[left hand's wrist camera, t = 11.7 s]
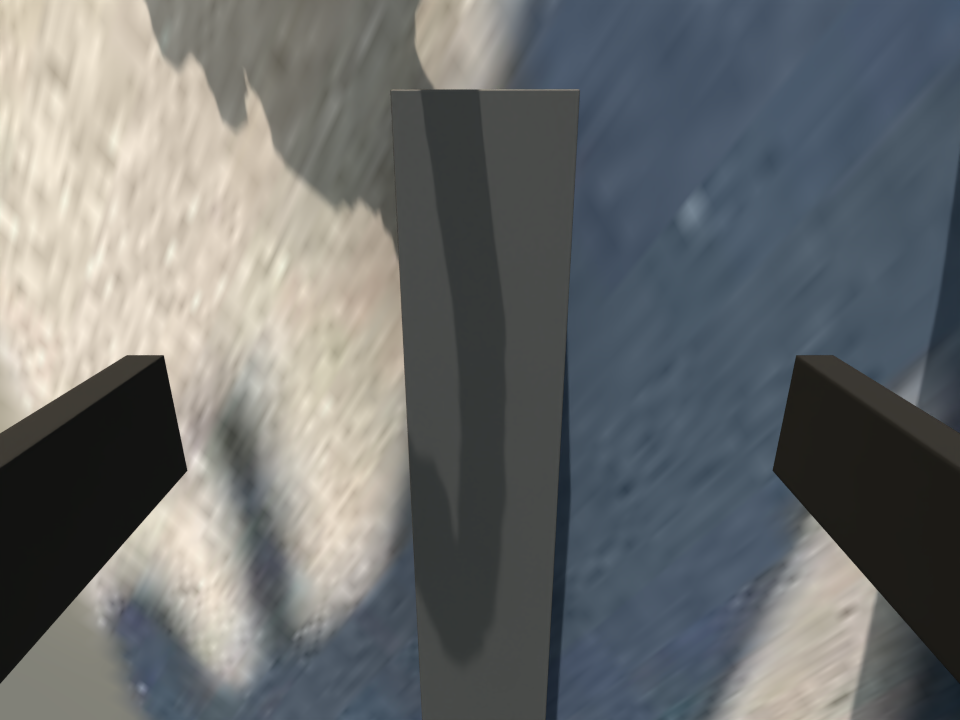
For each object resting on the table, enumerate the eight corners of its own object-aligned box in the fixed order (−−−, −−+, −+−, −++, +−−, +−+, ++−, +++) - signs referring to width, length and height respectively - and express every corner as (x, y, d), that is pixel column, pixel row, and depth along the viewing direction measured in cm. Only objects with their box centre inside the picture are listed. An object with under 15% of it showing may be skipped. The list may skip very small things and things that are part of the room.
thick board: (405, 97, 35) (390, 89, 29) (562, 97, 35) (580, 89, 29) (437, 854, 61) (432, 934, 55) (528, 854, 61) (533, 934, 55)
